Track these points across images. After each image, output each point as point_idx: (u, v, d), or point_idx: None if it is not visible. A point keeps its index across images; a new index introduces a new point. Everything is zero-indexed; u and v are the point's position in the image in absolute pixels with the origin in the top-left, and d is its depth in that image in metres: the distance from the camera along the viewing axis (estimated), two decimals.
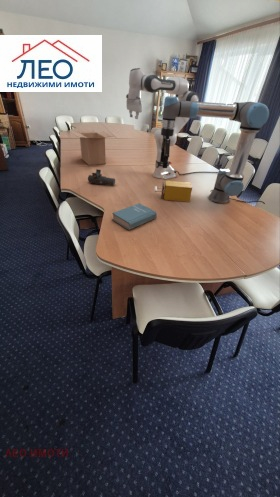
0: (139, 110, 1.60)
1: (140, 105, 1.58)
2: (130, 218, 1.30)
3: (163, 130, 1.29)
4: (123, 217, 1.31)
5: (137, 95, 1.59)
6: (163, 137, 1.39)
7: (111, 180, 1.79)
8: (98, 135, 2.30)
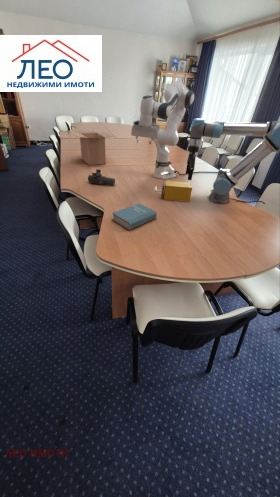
0: (157, 136, 1.62)
1: (158, 131, 1.61)
2: (130, 218, 1.30)
3: (190, 147, 1.47)
4: (123, 217, 1.31)
5: (151, 122, 1.58)
6: (189, 152, 1.56)
7: (111, 180, 1.79)
8: (98, 135, 2.30)
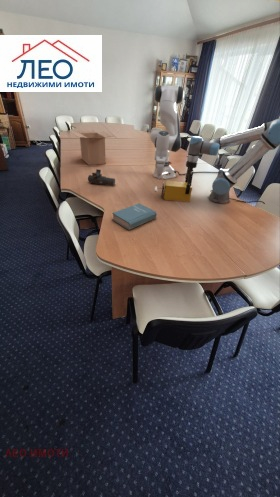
0: None
1: None
2: (130, 218, 1.30)
3: (188, 163, 1.53)
4: (123, 217, 1.31)
5: None
6: (187, 168, 1.63)
7: (111, 180, 1.79)
8: (98, 135, 2.30)
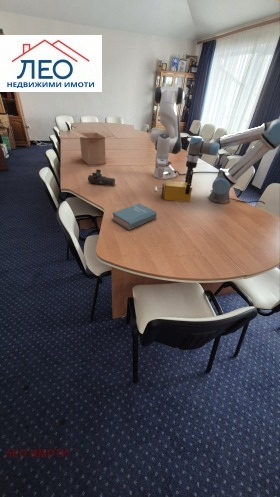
0: None
1: None
2: (130, 218, 1.30)
3: (188, 163, 1.53)
4: (123, 217, 1.31)
5: None
6: (187, 168, 1.63)
7: (111, 180, 1.79)
8: (98, 135, 2.30)
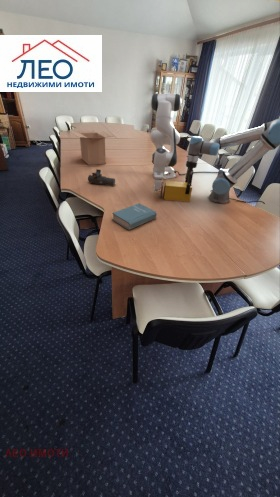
0: None
1: None
2: (130, 218, 1.30)
3: (188, 163, 1.53)
4: (123, 217, 1.31)
5: None
6: None
7: (111, 180, 1.79)
8: (98, 135, 2.30)
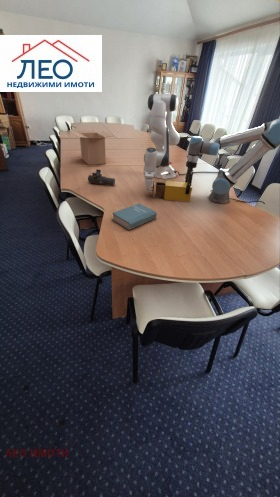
0: None
1: None
2: (130, 218, 1.30)
3: (188, 163, 1.53)
4: (123, 217, 1.31)
5: None
6: (187, 168, 1.63)
7: (111, 180, 1.79)
8: (98, 135, 2.30)
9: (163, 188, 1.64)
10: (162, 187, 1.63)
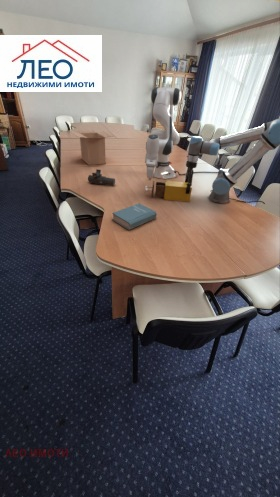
0: None
1: None
2: (130, 218, 1.30)
3: (188, 163, 1.53)
4: (123, 217, 1.31)
5: None
6: (188, 167, 1.63)
7: (111, 180, 1.79)
8: (98, 135, 2.30)
9: (163, 188, 1.64)
10: (162, 187, 1.63)
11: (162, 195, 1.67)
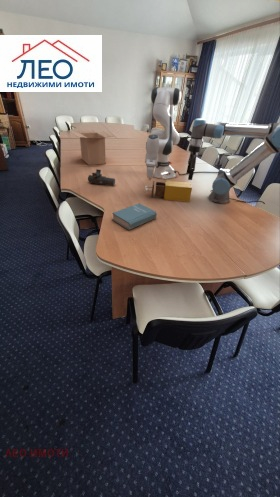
0: None
1: None
2: (130, 218, 1.30)
3: (191, 147, 1.47)
4: (123, 217, 1.31)
5: None
6: (190, 152, 1.57)
7: (111, 180, 1.79)
8: (98, 135, 2.30)
9: (163, 188, 1.64)
10: (162, 187, 1.63)
11: (162, 195, 1.67)
